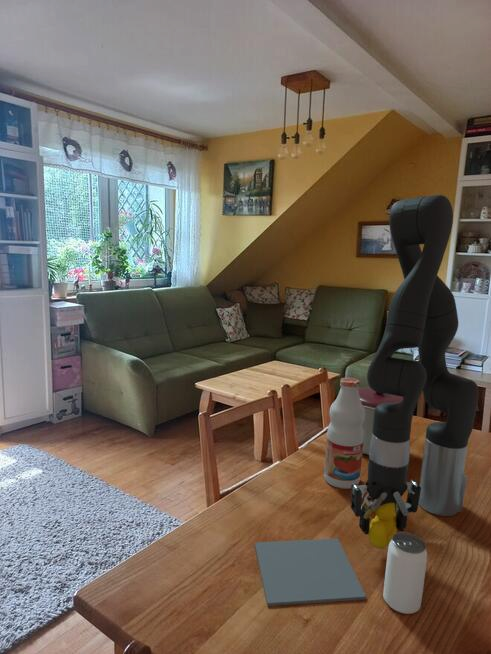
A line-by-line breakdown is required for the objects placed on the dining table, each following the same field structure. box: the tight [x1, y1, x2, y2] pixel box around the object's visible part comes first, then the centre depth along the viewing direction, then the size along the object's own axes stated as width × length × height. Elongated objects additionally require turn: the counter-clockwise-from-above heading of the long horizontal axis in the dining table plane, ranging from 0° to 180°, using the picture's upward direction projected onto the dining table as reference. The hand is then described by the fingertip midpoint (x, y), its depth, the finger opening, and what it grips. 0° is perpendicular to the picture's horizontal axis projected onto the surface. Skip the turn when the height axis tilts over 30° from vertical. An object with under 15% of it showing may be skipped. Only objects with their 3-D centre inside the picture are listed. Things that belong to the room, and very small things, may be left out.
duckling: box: [368, 502, 399, 550], centre depth 93 cm, size 11×5×10 cm, turn 148°
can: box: [382, 531, 428, 615], centre depth 81 cm, size 6×6×12 cm
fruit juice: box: [323, 377, 365, 490], centre depth 120 cm, size 9×9×28 cm
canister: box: [358, 386, 403, 456], centre depth 139 cm, size 18×18×21 cm
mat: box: [254, 538, 367, 607], centre depth 89 cm, size 18×16×1 cm
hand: (382, 530), depth 94 cm, fingers closed on duckling, 7 cm apart
